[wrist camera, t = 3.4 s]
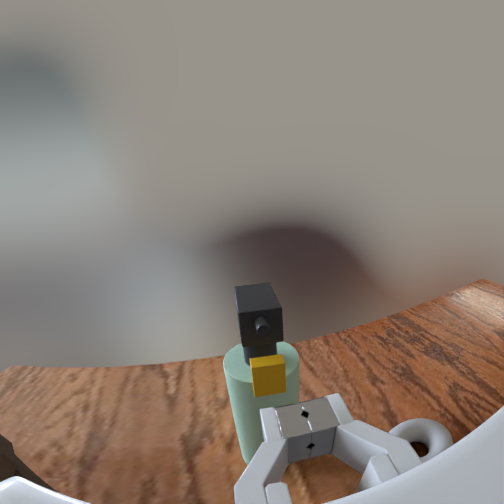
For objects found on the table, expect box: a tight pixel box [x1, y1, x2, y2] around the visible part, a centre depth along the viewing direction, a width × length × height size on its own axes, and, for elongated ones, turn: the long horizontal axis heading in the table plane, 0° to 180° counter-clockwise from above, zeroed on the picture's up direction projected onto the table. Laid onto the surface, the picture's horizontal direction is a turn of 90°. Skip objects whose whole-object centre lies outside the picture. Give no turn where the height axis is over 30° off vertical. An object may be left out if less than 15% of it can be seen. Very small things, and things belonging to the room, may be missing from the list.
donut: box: [389, 418, 453, 463], centre depth 21 cm, size 10×4×10 cm
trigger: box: [250, 354, 286, 397], centre depth 19 cm, size 2×1×3 cm, turn 96°
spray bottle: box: [223, 283, 299, 466], centre depth 24 cm, size 7×8×22 cm
